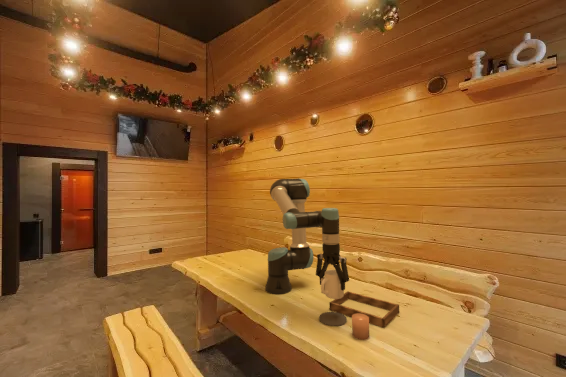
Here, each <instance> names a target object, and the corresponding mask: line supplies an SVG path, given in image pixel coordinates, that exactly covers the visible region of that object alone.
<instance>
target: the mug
mask: <svg viewBox="0 0 566 377" xmlns="http://www.w3.org/2000/svg"><path fill="white" fill-rule="evenodd" d="M324 277H325V278H324V279H323V281H322V283H321V285H320V291H322V293H321V294H323V295H324V296H325V297H327V298H328V299H331V300H334V299H340V298H339V282H340V280H339V277H338V275H337V272H336V270H335V269H327V270H326V271H325V275H324ZM324 284H325V290H324Z"/></svg>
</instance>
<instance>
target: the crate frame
mask: <svg viewBox="0 0 566 377" xmlns="http://www.w3.org/2000/svg"><path fill="white" fill-rule="evenodd" d="M348 300H351V301H354V302H358V303H361V304H363V305H364V304H366V305H368V306H372V307H376V308H379V309H383V310H386V311H388V312H387V313H386V314H385V315H384V316H383V317H382V316H378V315H374V314H371V313H368V312H365V311H362V310H359V309H355V308H353V307H349V306H345V305H343V303H345V302H346V301H348ZM329 311H330V312H337V313H341V314H343V315H344V316H346V317H349V318H352V315H353V314H357V313H360V314H365V315H367V316H368V317H369V324H371V325H374V326H376V327H380V328H384V329H385V328H386V327H387V326H388V325H389V324H390V323H391V322H392V321H393V320H394V319H395V317H396V316H398V315H399V313H400V304H397V303H394V302H390V301H386V300H382V299H379V298H374V297H370V296H367V295H364V294H359V293H355V292H352V291H346V292H344V297H342V298H341V299H332V300H331V301H329Z"/></svg>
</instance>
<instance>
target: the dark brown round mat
mask: <svg viewBox="0 0 566 377" xmlns="http://www.w3.org/2000/svg"><path fill="white" fill-rule="evenodd" d="M318 320H319V322H320V323H321V324H322V325H325V326H328V327H341V326H343V325H345V324H347V322H348V319H347V316H346V315H343V314H341V313H337V312H334V311H325V312H322V313H321V314H319V316H318Z"/></svg>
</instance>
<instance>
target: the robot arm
mask: <svg viewBox="0 0 566 377" xmlns="http://www.w3.org/2000/svg"><path fill="white" fill-rule="evenodd" d="M269 195H270V197H271V199H272V200H273V201H275V202H276V204H277V206H278V207H279V209H280V212H282V224H283V228H284V229H286V230H291V245H289V249H288V247H284V246H282V247H276V248H272V249H270V250H269V251H268V254H267V272H268V274H267V279H266V283H265V289H264V290H265V291H266V293H268V292H269V293H268V294H271V293H272V294H273V295H282V294H283V295H284V294H287V293H290V292H291V291H292V283H291V281H290V278H289V271H295V270H305V269H309V268H311V267H312V265H313V264H314V251H313V248H311V247H310V245H309V244H308V242H307V229H311V228H321V237H322V238H321V240H322V241H321V242H322V244H321V246H322V252H323V253H318V254H317V255H316V258H317V259H316V260H317V262H316V269H315V270H316V271H315V276H317V277H318V278H319V285H320V286H321V283H322V281H323V279H324V278H325V271H327V270H328V267H329V265H331V266H333V268H334V270H336V272H337V275H338V277H339V280H340V282H339V298H340V299H341V298H342V297H344V293H345V290H346V283H348V282H349V281H350V277H349V270H348V265H347V259H348V258H347V257H342V256H341V255H340V252H341V246H340V245H341V244H340V215H339V208H337V207H324V208H322V209H321V210H315V211H306V209H305V204H306V202H307V199H308V198H309V197H310V195H311V190H310V184H309V182H308V180H306V179H304V178H299V177H298V178H279V179H277V180H276V181H274V182H273V183H272V184H271V186H270V188H269ZM323 260H324V261H323ZM324 290H325V284H324ZM320 291H321V290H320ZM320 293H321V294H323V293H322V291H321V292H320Z"/></svg>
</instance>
